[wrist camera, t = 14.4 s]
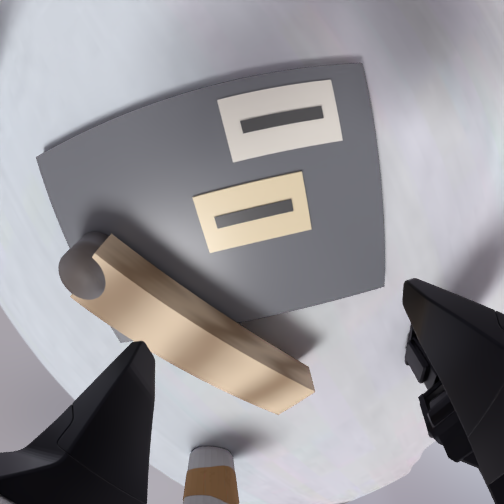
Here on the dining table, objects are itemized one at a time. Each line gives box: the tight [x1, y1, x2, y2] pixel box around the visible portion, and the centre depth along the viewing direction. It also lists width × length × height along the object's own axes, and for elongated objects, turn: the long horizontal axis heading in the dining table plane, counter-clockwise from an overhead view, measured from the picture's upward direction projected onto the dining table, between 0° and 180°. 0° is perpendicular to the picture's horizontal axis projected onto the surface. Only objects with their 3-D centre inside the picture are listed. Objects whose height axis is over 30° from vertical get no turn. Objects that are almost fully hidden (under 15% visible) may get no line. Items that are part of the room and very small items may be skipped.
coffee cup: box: [183, 446, 239, 504], centre depth 29 cm, size 8×8×15 cm
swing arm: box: [59, 232, 315, 415], centre depth 21 cm, size 22×4×3 cm, turn 48°
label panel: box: [36, 63, 385, 343], centre depth 19 cm, size 23×17×1 cm
